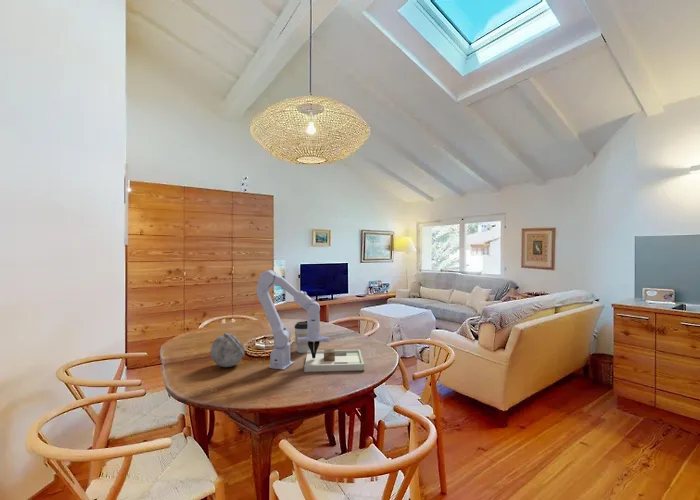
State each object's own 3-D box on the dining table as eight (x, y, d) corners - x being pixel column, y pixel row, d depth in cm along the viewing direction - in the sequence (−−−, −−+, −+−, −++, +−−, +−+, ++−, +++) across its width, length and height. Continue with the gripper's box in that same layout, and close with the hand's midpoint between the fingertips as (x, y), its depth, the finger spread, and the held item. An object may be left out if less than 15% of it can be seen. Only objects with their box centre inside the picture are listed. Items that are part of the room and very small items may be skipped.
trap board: (304, 372, 138) (304, 365, 138) (307, 356, 158) (307, 350, 158) (364, 371, 139) (364, 364, 139) (360, 355, 159) (360, 349, 159)
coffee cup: (303, 354, 161) (303, 325, 161) (290, 351, 166) (290, 322, 166) (315, 350, 168) (315, 321, 168) (303, 347, 173) (303, 319, 173)
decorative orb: (249, 366, 145) (249, 333, 145) (217, 375, 136) (217, 339, 136) (237, 358, 156) (236, 327, 156) (206, 365, 147) (205, 332, 147)
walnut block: (323, 361, 146) (323, 352, 146) (324, 357, 151) (324, 349, 151) (334, 361, 146) (334, 352, 146) (334, 357, 151) (334, 348, 151)
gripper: (296, 330, 144) (297, 360, 144) (329, 330, 144) (329, 360, 145) (298, 326, 151) (298, 355, 151) (329, 326, 151) (329, 354, 152)
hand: (313, 357), depth 148 cm, fingers closed
